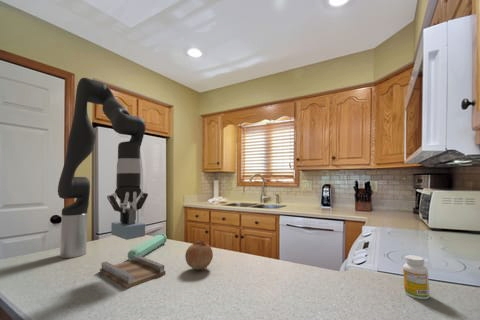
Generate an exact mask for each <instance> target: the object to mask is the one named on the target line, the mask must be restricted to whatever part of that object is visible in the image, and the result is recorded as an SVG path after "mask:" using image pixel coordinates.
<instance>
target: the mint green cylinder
mask: <svg viewBox="0 0 480 320" xmlns="http://www.w3.org/2000/svg"><path fill="white" fill-rule="evenodd" d="M167 238H168V237H167V235H166V234H165V233H163V232H162V233H161V232H159V233H157V234H156V235H155V236H153V237H151V238H149V239H147V240H146V241H144V242H142V243H140V244H137V245H136V246H134V247H132V248H131V249H129V251H128V253H127V259H128V261H130V260H131V255H133V254H137V255H139V256H142V257H144V256H146V255H148V254H149V253H151V252H152V251H155V249H157V248H159V247H161V246H162V244H163V245H164V244H165V243H167Z"/></svg>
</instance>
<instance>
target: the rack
mask: <svg viewBox="0 0 480 320" xmlns="http://www.w3.org/2000/svg"><path fill="white" fill-rule="evenodd" d="M99 272H100V273H101V274H103V275H104V276H106V277H107V278H109V279H111V280H113V281H114V282H116V283H118V284H119V285H121V286H123V287H124V288H126V289H129V288H131V287H134V286H136V285H139V284H142V283H145V282H147V281H151V280H153V279H155V278H160V277H162V276H165V275H167V274H166V270H165V265H164V264H162V263H159V262H157V261H154V260H151V259H149V258H147V257H144V256H143V257H142V256H139V255H137V254H133V255H131V260H127V261H124V262H121V263H117V264H112V263H111V262H108V261H103V262H101V268H100V269H99Z"/></svg>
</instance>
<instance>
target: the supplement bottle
mask: <svg viewBox="0 0 480 320" xmlns="http://www.w3.org/2000/svg"><path fill="white" fill-rule="evenodd" d="M402 269H403V270H402V273H403V283H404V284H403V286H404V293H405V294H406V295H407V296H408V297H410V298H414V299H418V300H428V299H429V298H430V295H431V293H430V283H429V282H430V281H429V271H428V268H427V267H426V266H425V258H423V257H421V256H418V255H413V254H412V255H410V254H409V255H405V263H404V264H403V265H402Z"/></svg>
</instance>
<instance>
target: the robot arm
mask: <svg viewBox="0 0 480 320" xmlns="http://www.w3.org/2000/svg"><path fill="white" fill-rule="evenodd" d="M77 82H78V83H77V85H76V92H75V101H74V111H73V112H74V113H73V117H72V121H71V122H72V123H71V125H70V126H71V127H70V132H69V136H68V140H67V141H68V142H67V147H66V153H65V159H64V163H63V167H62V170H61V173H60V177H59V179H58V180H59V181H58V185H57V195H58V197H59V198H60V199H75V201H74V202H73V203H71V204H70V205H68V206H67V205H66V206H65V207H63V208H62V209H61V221H60V222H61V227H60V248H59V249H60V250H59V251H60V252H59V253H60V254H59V255H60V256H59V257H60V258H61V259H68V258H69V259H70V258H76V257H80V256H83V255H86V254H87V243H88V241H87V239H88V238H87V237H88V211H89V210H88V209H89V205H90V194H91V193H90V192H91V182H90V179H89V178H87V177H86V176H75V173H76V171H77V169H78V167H79V166H80V165H82V163H83V162H84V161H85V160H86V159H87V158H88V157H89V156H90V155H91V154H92V152H93V150H94V149H95V148H94V147H95V141H96V137H97V135H96V131H95V129H94V125H93V124H92V122H91V120H90V118H89V114H88V103H91V104H94V105H95V104H96V105H102V108H101V109H102V112H103V114H104V115H105V116H106V118H107V119H109V121H110V123H111V126H112V130H113V131H114V132H115V133H117V134H118V135H123V136H130V138H129V141H122V142H119V143H118V146H117V161H116V162H117V163H116V182H115V185H116V187H115V190H114V192H113V193H111V194H110V195H109V194H108V195H107V196H106V198H107V200H108V202H109V203H110V205H111V207H112V209H113V210H114V212H119V213H120V216H119V217H120V219H119V222H120V221H121V222H122V224H126V222H127V213H126V210H127V208H128V205H129V208H134V209H135V221H136V220H137V217H136V216H137V211H138V210H139V211H140V210H141V209H142V208H143V205H144V204H145V203H146V200H147V198H148V197H149V194H148V193H147V192H143V191H142V188H141V177H142V176H141V171H142V169H141V167H142V165H141V145H142V143H143V139H144V136H145V134H146V129H147V128H146V127H147V126H146V123H145V120H144V119H143V118H142V117H140V116H135V115H131V113H130V112H129V110H128V109H127V108H126V107H125V106H124V105H123V104H121V102H119V101H118V99H117V98H116V97H115V95H114V93H113V91H112V90H111V89H110V87H109V85H106V84H105V83H104V82H100V81H98V80H95V79H91V78H87V77H82V78H80V79H79V81H77ZM117 198H118V199H119V202H117V200H118V199H117ZM118 203H119V204H118Z"/></svg>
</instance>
